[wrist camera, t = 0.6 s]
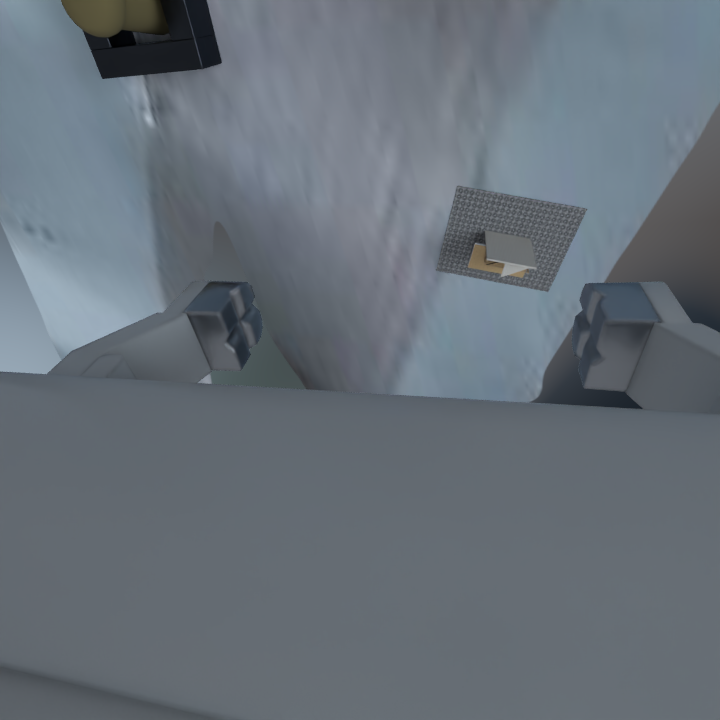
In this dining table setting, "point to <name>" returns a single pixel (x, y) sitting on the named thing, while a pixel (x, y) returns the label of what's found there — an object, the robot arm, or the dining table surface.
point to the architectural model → (507, 238)
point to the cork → (117, 16)
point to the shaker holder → (161, 44)
